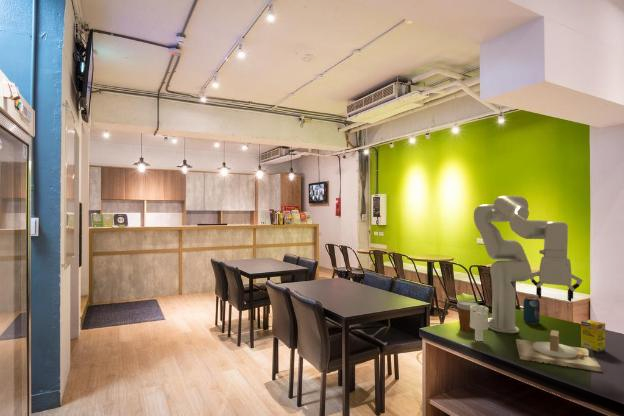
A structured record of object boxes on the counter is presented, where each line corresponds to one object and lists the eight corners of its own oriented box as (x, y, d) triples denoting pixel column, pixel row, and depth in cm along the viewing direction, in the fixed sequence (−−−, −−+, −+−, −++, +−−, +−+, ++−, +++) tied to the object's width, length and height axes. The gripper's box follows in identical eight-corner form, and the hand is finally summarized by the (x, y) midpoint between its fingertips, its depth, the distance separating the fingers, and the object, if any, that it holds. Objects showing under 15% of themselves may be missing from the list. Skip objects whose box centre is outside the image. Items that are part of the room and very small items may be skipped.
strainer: (474, 343, 153) (474, 306, 153) (466, 337, 160) (467, 302, 160) (491, 343, 153) (491, 306, 154) (483, 338, 160) (483, 302, 161)
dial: (582, 362, 131) (582, 343, 131) (530, 352, 140) (530, 334, 140) (582, 351, 142) (582, 333, 142) (534, 342, 151) (534, 325, 151)
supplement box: (597, 353, 145) (597, 324, 145) (580, 348, 150) (580, 320, 150) (605, 351, 147) (605, 323, 147) (588, 346, 153) (588, 319, 153)
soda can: (539, 325, 181) (539, 300, 181) (522, 322, 185) (523, 298, 185) (539, 322, 187) (540, 297, 187) (523, 319, 191) (524, 295, 191)
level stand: (520, 359, 137) (520, 346, 137) (516, 342, 155) (516, 331, 155) (601, 371, 127) (601, 358, 127) (586, 352, 145) (586, 340, 145)
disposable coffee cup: (453, 326, 177) (453, 300, 178) (473, 326, 177) (474, 301, 177) (460, 332, 168) (461, 305, 168) (482, 333, 168) (482, 305, 168)
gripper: (530, 253, 144) (528, 298, 144) (585, 257, 136) (583, 304, 137) (528, 251, 151) (527, 294, 151) (580, 254, 143) (579, 299, 143)
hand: (554, 299), depth 144 cm, fingers open, 9 cm apart
